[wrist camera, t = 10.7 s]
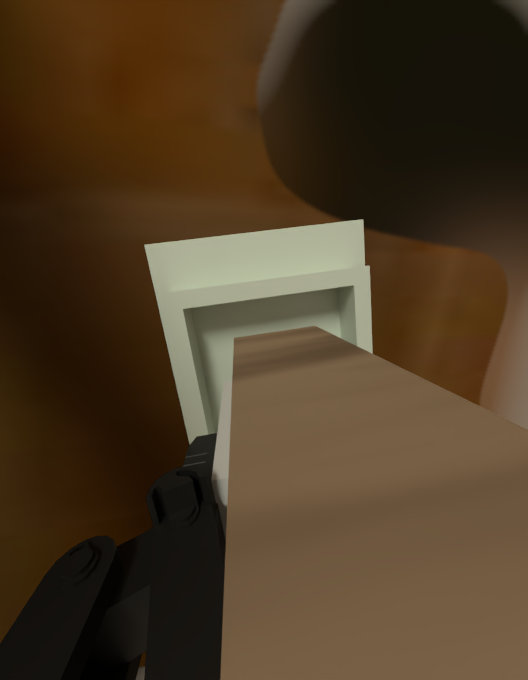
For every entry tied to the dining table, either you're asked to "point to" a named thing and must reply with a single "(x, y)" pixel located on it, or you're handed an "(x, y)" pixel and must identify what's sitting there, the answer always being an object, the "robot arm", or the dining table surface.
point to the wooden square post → (368, 521)
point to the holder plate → (254, 300)
